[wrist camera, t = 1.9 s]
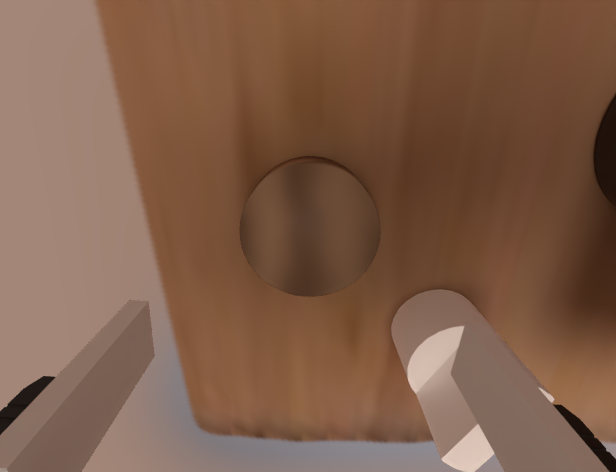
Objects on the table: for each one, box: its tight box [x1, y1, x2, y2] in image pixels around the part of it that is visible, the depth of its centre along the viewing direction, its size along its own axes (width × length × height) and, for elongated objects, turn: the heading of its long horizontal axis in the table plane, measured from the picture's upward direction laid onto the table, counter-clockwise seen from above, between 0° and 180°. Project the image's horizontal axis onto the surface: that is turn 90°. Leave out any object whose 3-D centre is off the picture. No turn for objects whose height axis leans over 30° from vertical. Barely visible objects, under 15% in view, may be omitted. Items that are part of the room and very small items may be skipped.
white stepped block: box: [391, 289, 554, 472], centre depth 28 cm, size 9×9×12 cm
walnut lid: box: [240, 156, 380, 296], centre depth 28 cm, size 11×11×5 cm
